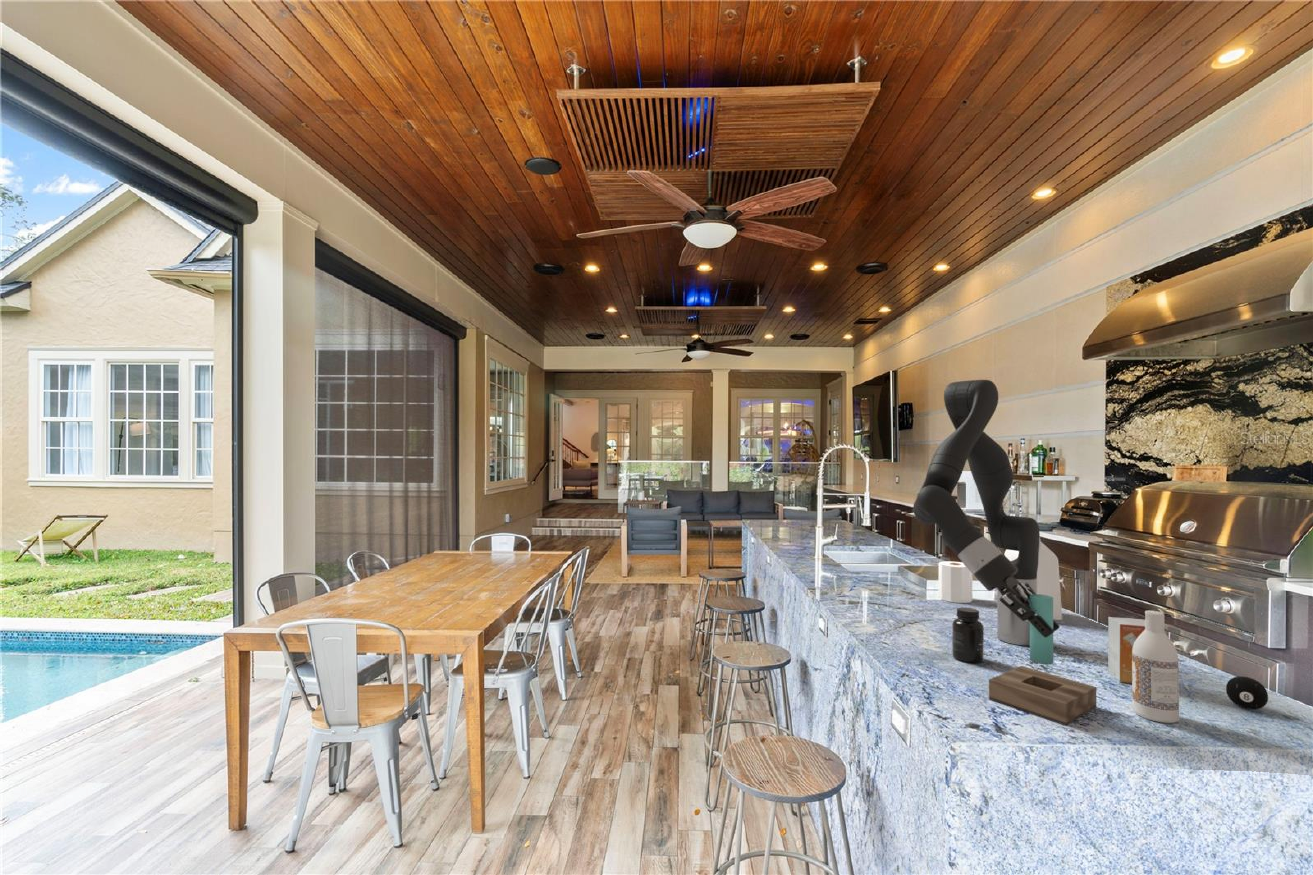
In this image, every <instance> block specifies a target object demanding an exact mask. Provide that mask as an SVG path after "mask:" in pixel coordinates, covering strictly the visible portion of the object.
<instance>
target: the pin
mask: <svg viewBox="0 0 1313 875" xmlns="http://www.w3.org/2000/svg"><path fill="white" fill-rule="evenodd" d="M1030 600H1031V602H1032V603H1033V604H1032V607H1033V608H1034V609H1035V610H1036V611H1037V612H1038V614H1039V616H1041V617H1042V618H1043V619H1044V620H1045V621H1046V622H1047V623H1048V624H1049V625H1050V627H1051V628H1052V629H1053V597H1051V596H1047V595H1040V594H1031V595H1030ZM1029 660H1030V661H1031V662H1033V663H1036V664H1041V665H1053V664H1054V633H1052V634H1051V635H1049V636H1048V637H1044V636H1043V635H1042V634H1041V633H1040V632H1039V631H1038V630H1037V629H1036V628H1035V627H1034V626H1033V625H1032V624H1031V623H1030V645H1029Z"/></svg>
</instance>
